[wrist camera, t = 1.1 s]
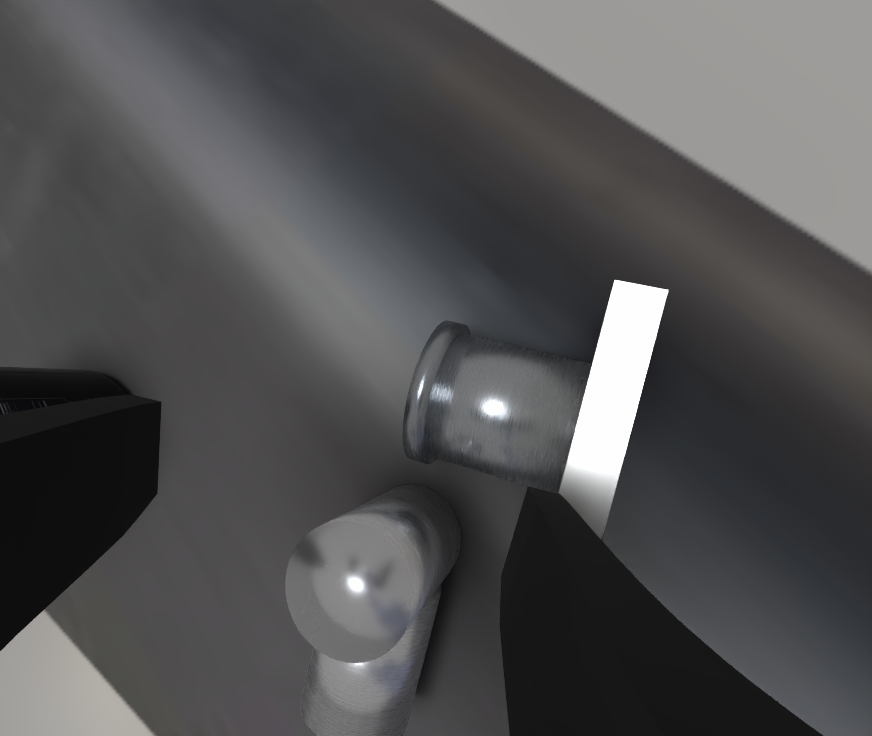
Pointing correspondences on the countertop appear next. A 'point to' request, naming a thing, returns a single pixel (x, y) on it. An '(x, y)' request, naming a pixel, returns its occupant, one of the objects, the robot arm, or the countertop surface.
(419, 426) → the duct stub
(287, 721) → the countertop surface
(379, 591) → the elbow
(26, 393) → the supplement bottle
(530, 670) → the robot arm
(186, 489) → the countertop surface
